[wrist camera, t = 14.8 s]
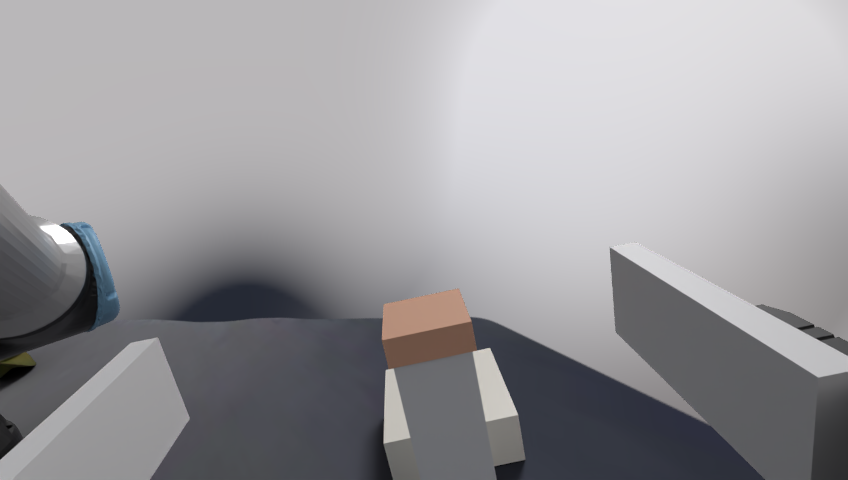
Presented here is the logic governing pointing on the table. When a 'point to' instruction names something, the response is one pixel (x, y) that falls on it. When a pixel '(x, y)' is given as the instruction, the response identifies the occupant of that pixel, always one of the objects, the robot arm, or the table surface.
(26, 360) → the fruit
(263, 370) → the table surface
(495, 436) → the white square base
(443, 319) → the plug
